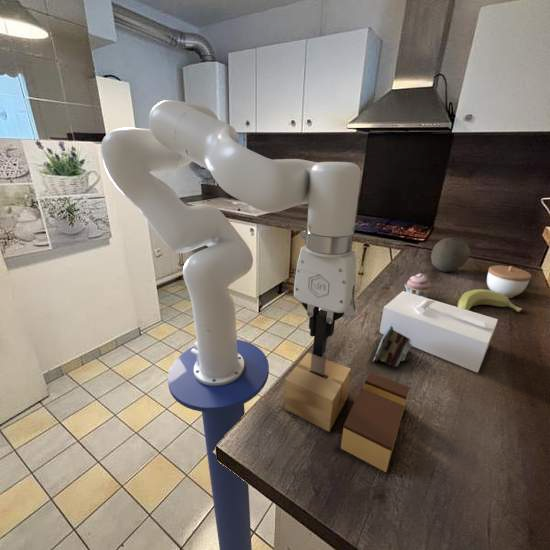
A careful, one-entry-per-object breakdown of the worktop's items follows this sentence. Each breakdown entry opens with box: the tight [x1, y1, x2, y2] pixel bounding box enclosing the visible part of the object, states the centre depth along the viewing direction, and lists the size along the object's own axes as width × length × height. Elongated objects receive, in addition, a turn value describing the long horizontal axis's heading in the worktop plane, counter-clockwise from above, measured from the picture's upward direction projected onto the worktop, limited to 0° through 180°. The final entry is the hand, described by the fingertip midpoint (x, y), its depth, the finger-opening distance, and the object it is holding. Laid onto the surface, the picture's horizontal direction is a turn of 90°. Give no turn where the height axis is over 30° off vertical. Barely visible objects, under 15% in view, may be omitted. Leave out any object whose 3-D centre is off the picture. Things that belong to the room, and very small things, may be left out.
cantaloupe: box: [430, 236, 471, 273], centre depth 128 cm, size 14×14×15 cm
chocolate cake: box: [372, 324, 413, 368], centre depth 76 cm, size 10×7×12 cm
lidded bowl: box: [486, 265, 532, 299], centre depth 108 cm, size 13×13×11 cm
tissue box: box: [379, 290, 499, 374], centre depth 81 cm, size 14×25×11 cm, turn 47°
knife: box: [310, 308, 328, 378], centre depth 57 cm, size 3×2×18 cm
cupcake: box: [403, 272, 434, 298], centre depth 105 cm, size 9×9×10 cm
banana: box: [457, 288, 523, 314], centre depth 98 cm, size 14×6×20 cm
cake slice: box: [363, 371, 410, 419], centre depth 60 cm, size 8×3×6 cm, turn 57°
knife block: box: [284, 352, 352, 432], centre depth 60 cm, size 10×10×8 cm
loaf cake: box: [340, 387, 405, 473], centre depth 53 cm, size 8×10×6 cm
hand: (320, 334), depth 55 cm, fingers closed on knife, 1 cm apart
